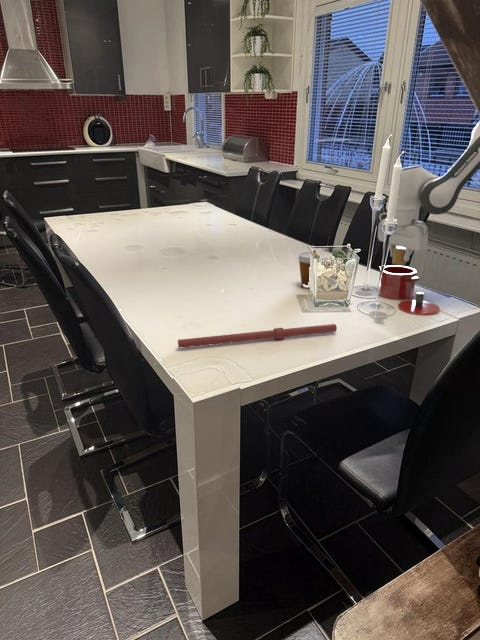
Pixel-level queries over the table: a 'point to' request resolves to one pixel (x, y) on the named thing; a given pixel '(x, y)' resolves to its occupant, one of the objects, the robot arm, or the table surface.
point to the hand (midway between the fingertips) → (399, 258)
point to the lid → (419, 306)
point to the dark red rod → (257, 335)
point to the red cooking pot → (398, 282)
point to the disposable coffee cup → (304, 267)
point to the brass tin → (398, 255)
